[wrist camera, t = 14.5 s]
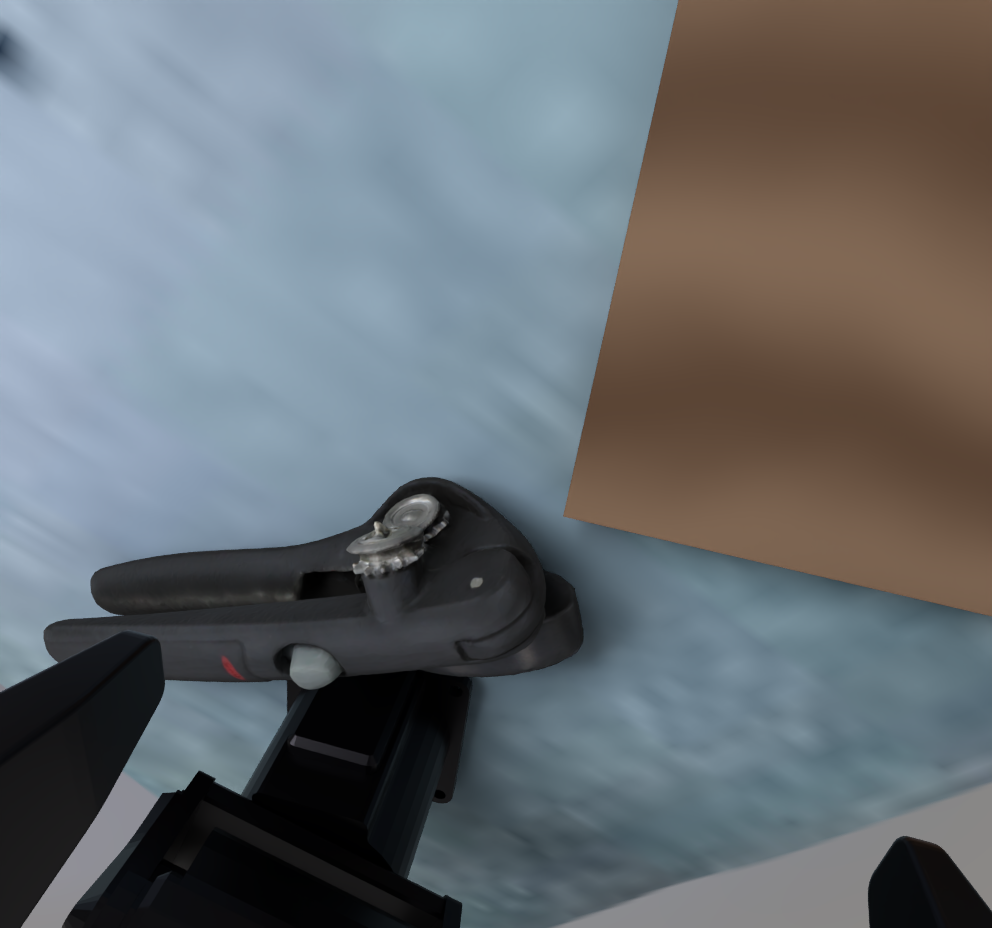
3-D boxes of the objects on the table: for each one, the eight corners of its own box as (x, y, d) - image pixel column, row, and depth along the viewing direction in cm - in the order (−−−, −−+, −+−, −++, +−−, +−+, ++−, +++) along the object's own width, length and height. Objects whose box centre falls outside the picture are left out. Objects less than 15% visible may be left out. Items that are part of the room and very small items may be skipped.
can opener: (554, 434, 21) (518, 551, 17) (600, 629, 24) (580, 775, 20) (55, 500, 27) (-82, 604, 22) (144, 654, 30) (40, 775, 25)
